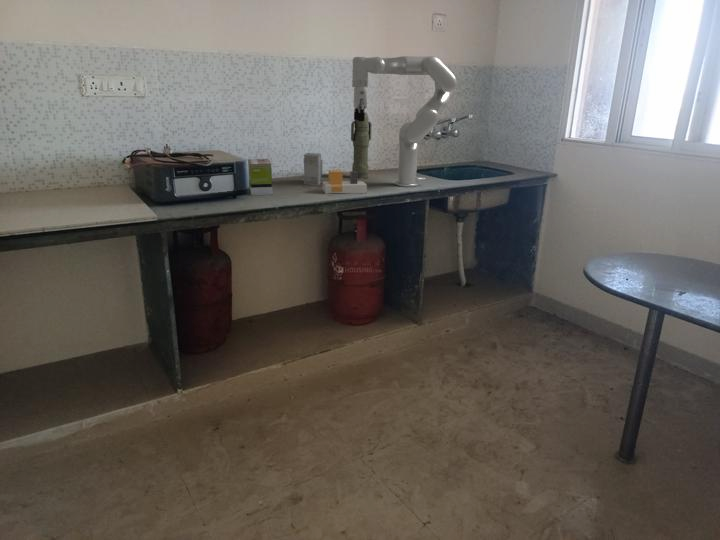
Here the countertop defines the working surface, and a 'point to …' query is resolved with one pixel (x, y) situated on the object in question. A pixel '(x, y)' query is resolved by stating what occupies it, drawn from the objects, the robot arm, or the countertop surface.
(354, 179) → the plain toggle
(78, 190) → the countertop surface
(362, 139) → the thermos
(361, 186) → the breaker panel
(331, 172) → the orange cube
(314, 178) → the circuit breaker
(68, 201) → the countertop surface
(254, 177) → the tea box
